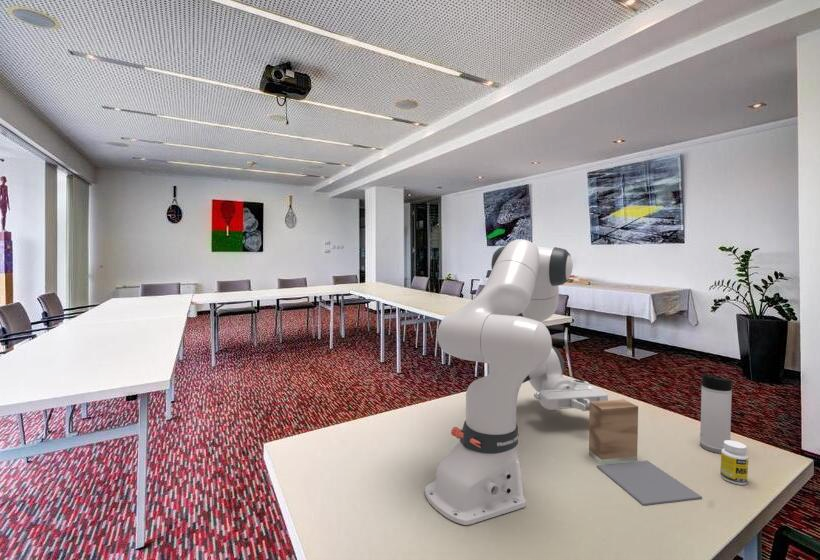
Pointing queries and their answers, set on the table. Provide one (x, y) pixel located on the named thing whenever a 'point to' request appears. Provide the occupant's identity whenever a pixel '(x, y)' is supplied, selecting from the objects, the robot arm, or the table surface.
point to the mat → (648, 483)
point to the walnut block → (613, 431)
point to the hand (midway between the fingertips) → (588, 408)
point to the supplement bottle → (734, 462)
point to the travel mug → (715, 412)
